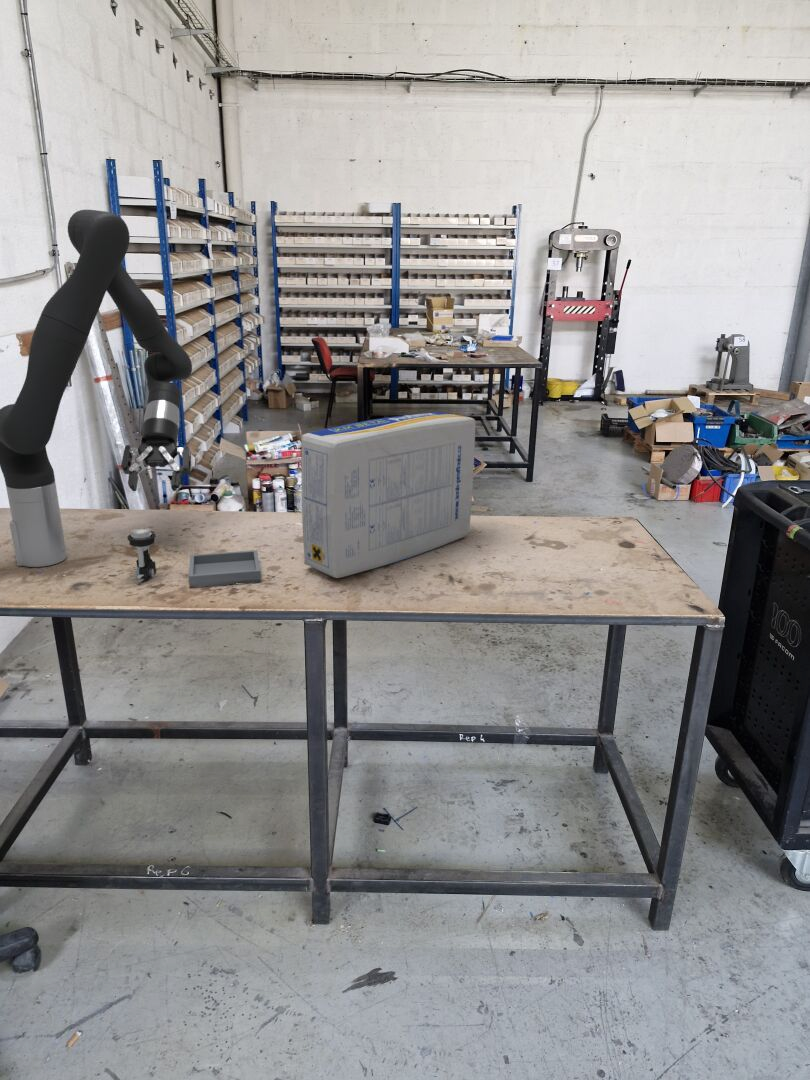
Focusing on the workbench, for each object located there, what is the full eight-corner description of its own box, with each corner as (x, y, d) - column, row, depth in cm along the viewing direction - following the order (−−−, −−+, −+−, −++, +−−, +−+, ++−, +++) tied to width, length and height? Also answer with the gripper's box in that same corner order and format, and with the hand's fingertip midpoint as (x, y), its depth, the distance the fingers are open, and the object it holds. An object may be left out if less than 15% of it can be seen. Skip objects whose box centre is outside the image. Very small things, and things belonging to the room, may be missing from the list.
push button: (151, 585, 142) (146, 538, 139) (125, 584, 143) (119, 537, 139) (163, 572, 149) (158, 527, 145) (138, 571, 149) (133, 526, 145)
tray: (189, 588, 141) (188, 576, 140) (191, 565, 152) (190, 554, 151) (261, 582, 145) (260, 570, 144) (257, 560, 156) (257, 550, 155)
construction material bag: (437, 526, 180) (441, 407, 169) (472, 537, 172) (478, 414, 162) (300, 569, 151) (295, 430, 141) (334, 585, 144) (332, 439, 134)
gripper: (123, 416, 155) (114, 481, 148) (190, 416, 156) (183, 480, 149) (133, 435, 162) (124, 497, 155) (197, 434, 163) (191, 497, 156)
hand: (153, 489), depth 152 cm, fingers open, 8 cm apart
